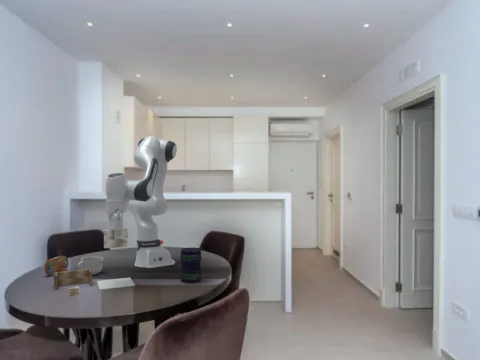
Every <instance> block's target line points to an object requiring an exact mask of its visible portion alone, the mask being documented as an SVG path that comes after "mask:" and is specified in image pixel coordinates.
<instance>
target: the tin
mask: <svg viewBox="0 0 480 360" xmlns="http://www.w3.org/2000/svg"><path fill="white" fill-rule="evenodd" d="M68 267H69V259H68V257H67V256H66V255H59V256H56V257H53V258H50V259H47V260H46V262H45V263H44V269H43V270H44V274H46V275H47V276H49V277H50V276H53V277H54V272H64V271H67V269H68Z"/></svg>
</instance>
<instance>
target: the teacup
mask: <svg viewBox="0 0 480 360" xmlns="http://www.w3.org/2000/svg"><path fill="white" fill-rule="evenodd" d="M103 267H104V257H102V256H98V255H97V256H95V255H91V256H84V257H81V258H80V261H79V262H78V263H77V269H78V270H86V269H92V276H94V275H98V274H99V273H100V272H102V270H103Z"/></svg>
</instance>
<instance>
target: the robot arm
mask: <svg viewBox="0 0 480 360" xmlns="http://www.w3.org/2000/svg"><path fill="white" fill-rule="evenodd" d="M177 148H178V146H177V144H176V143H175V142H174V141H172V140H166V139H162V138H157V136H153V135H148V136H146V137H143V138H141V139H140V140H139V141H138V144H137V148H136V150H135V151H134V155H133V160H134V162H135V164H136V165H137V166H138V167H139V168H140V169H143V170H146V171H145V174H144V178H142V179H139V180H130V179H128V178H126V177H125V174H124V173H122V172H121V173H120V172H116V173H110V174H109V175H107V178H106V182H105V195H106V199H105V213H107V214H108V216H107V217H108V224H109V226H110V227H111V228H110V229H113V230H114V239H119V231H122V230H123V229H124V220H123V218H124V217H123V216H124V213H126V212H127V201H128V210H129V211H130V212H131V213H132V214H133V218H134V219H135V222H136V227H137V228H136V229H137V239H136V245H135V246H136V248H135V249H136V257H135V262H134V266H135V267H138V268H147V269H151V268H152V269H153V268H160V267H167V266H173V265H175V264H176V261H175V259H172V256H171V253H170V251H169V250H167V249H166V248H165V247H163V246H162V245H163V244H164V240H161V239H159V238H158V232H159V231H158V227H159V226H158V224H157V223H156V222H155V221H154V219H153V217H154V216H155V217H157V216H161V215H164V214H165V213H166V212H167V210H168V201H167V200H166V198H165V197H164V184H165V180H166V175H167V171H168V163H169V162H170V161H172V160H174V158H175V157H176V154H177V151H178V149H177Z"/></svg>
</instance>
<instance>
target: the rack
mask: <svg viewBox="0 0 480 360" xmlns="http://www.w3.org/2000/svg"><path fill="white" fill-rule="evenodd" d="M78 284H88V285H89V287H92V286H93V275H92V269H86V270H79V269H78V270H77V269H76V270H66V271H64V272H54V276H53V287H54V291H55V290H56V291H57V290H58V288H59V287H60V286H61V287H62V286H71V285H78Z"/></svg>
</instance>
